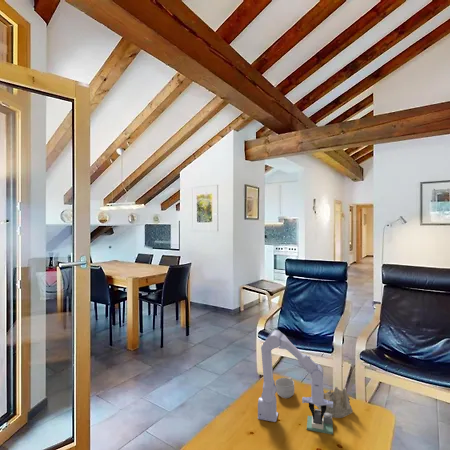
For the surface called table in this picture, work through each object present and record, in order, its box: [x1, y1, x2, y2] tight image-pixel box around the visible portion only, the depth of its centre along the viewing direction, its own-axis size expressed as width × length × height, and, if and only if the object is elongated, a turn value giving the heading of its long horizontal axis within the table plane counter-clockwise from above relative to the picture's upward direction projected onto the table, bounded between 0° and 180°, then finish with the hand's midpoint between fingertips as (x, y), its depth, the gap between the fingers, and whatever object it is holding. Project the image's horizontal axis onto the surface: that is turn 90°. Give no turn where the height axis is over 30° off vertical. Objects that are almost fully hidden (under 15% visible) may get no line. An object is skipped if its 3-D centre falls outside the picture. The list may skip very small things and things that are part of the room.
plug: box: [314, 408, 321, 424], centre depth 153 cm, size 3×4×7 cm
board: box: [306, 413, 334, 435], centre depth 154 cm, size 12×10×4 cm
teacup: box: [275, 376, 295, 399], centre depth 182 cm, size 14×11×8 cm
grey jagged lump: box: [316, 386, 353, 419], centre depth 168 cm, size 16×16×15 cm
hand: (317, 419), depth 153 cm, fingers closed on plug, 3 cm apart
